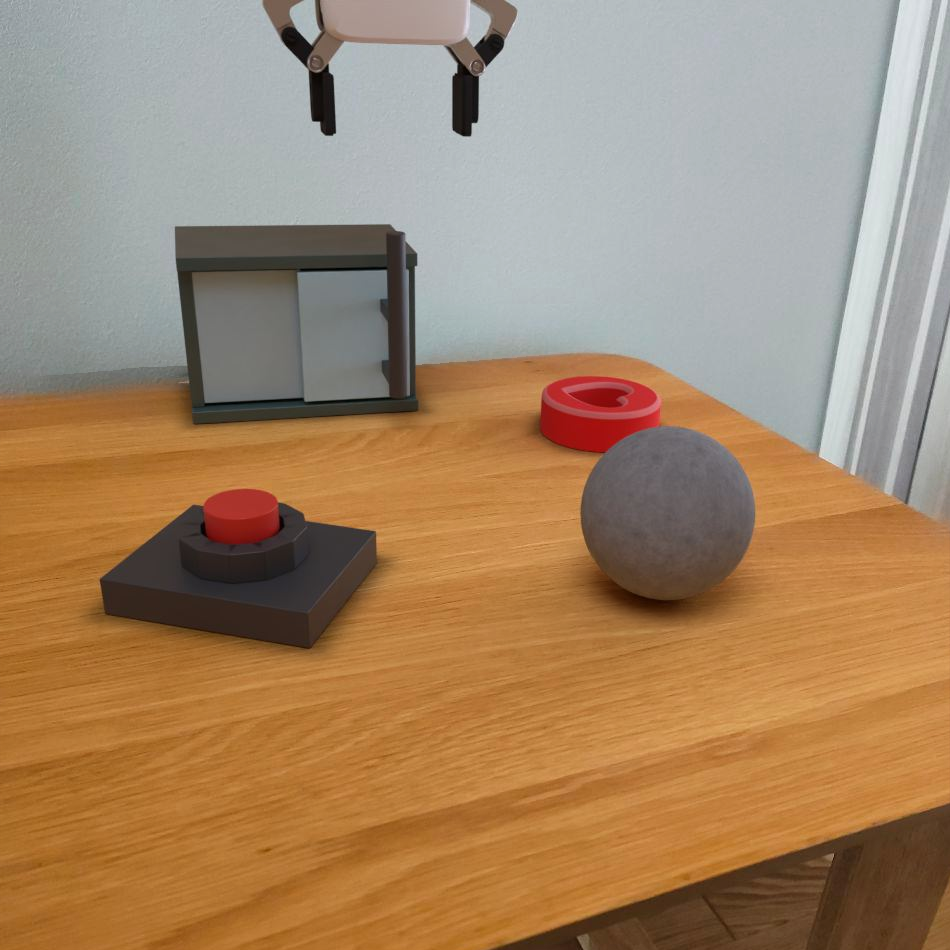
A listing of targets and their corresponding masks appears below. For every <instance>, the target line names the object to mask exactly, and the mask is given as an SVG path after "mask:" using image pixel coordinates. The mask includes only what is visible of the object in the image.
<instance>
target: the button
mask: <svg viewBox="0 0 950 950" xmlns="http://www.w3.org/2000/svg"><path fill="white" fill-rule="evenodd" d="M278 502H279V501H278V498H277V497H276V496H275V495H274V494H272V493H270V492H268V491H267V490H262V489H257V488H256V489H255V488H237V489H229V490H225V491H221V492H218V493H216V494H213V495H211V496H210V497H208V498H207V499H206V500H205V501H204V503H203V505H202V506H203V509H204V518H205V528H206V535H207V537H208V539H210V540H212V541H213V542H219V543H226V544H233V545H235V544H246V543H256V542H259V541H262V540H265V539H268V538H270V537H273V536H276V535H277V534H278V533H279V530H280V525H279V511H278Z"/></svg>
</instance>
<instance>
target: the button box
mask: <svg viewBox="0 0 950 950" xmlns="http://www.w3.org/2000/svg"><path fill="white" fill-rule="evenodd" d="M278 511H279V525H280V530H279V533H278V534H277V535H276V536H273V537H270V538H268V539H265V540H262V541H259V542H256V543H246V544H235V545H233V544H226V543H219V542H213V541H212V540H210V539H208V537H207V535H206V528H205V518H204V509H203V505H200V504H192V505H191V506H189V507H188V508H187V509H186V510H185V511H183V512H182V513H181V514H179V515H178V516H176V518H174V519H173V520H172V521H171V522H169V523H168V524H167V525H165V526H164V527H163V528H161V529H160V530H159V531H158V532H157V533H156V534H153V536H152V537H150V538H149V539H148V540H146V541H145V542H144V543H143V544H141V545H140V546H139V547H138V548H136V549H135V550H134V551H133V552H132V553H130V554H129V555H128V556H126V557H125V558H124V559H123V560H122V561H120V562H119V563H118V564H116V565H115V566H113V568H111V569H110V570H109V571H108V572H106V573H105V574H104V575H102V576H101V577H100V578H99V584H100V585H99V586H100V591H101V598H102V604H103V609H104V610H103V611H104V614H105V615H109V616H117V617H123V618H127V619H128V618H130V619H135V620H141V621H146V622H152V623H158V624H163V625H164V624H165V625H171V626H174V627H175V626H176V627H181V628H188V629H195V630H198V631H199V630H200V631H206V632H211V633H218V634H223V635H229V636H235V637H239V638H240V637H241V638H246V639H247V638H248V639H254V640H259V641H264V642H265V641H266V642H271V643H276V644H283V645H289V646H294V647H300V648H307V649H311V648H312V646H313V645H314V644H315V642H316V641H318V639H319V637H320V636H321V635H322V633H323V632H324V631H325V630H326V629H327V627H328V626H329V624H330V623H331V622H332V621H333V619H335V617H336V615H337V614H339V612H340V611H341V609H342V608H343V607H344V606H345V604H347V602H348V601H349V599H350V598H351V597H352V595H353V594H354V593H355V591H357V589H358V588H359V587H360V586H361V584H362V583H363V581H364V580H365V579H366V578H367V576H368V575H369V574H370V573H371V571H372V570H373V568H375V566H376V565H377V564H378V552H377V551H378V549H377V548H378V547H377V531H376V530H370V529H363V528H357V527H351V526H343V525H336V524H329V523H322V522H316V521H309V520H306V518H305V514H304V513H303V512H302V511H300V510H298V509H296V508H294V507H293V506H291V505H288V504H287V503H284V502H279V501H278Z"/></svg>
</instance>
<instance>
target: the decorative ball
mask: <svg viewBox="0 0 950 950" xmlns="http://www.w3.org/2000/svg"><path fill="white" fill-rule="evenodd" d="M580 500H581V502H580V507H579V508H580V510H579V511H580V513H579V514H580V527H581V532H582V536H583V539H584V542H585V545H586V547H587V548H586V549H588V552H589V554H590V556H591V557H592V559H593V560H594V562H595V563H596V565H597V566H598V567H599V569H600V570H601V571H602V572H603V574H605V575H606V576H607V578H609V579H610V580H611V581H612V582H613V583H614V584H617V585H618V586H619V587H621V588H622V589H624V590H626V591H628V592H630V593H632V594H635V595H637V596H640V597H644V598H647V599H651V600H658V601H678V600H683V599H689V598H692V597H696V596H699V595H701V594H703V593H706V592H707V591H709V590H711V589H714V588H715V587H717V585H719V584H721V583H722V582H723V581H724V580H726V579H727V578H728V577H729V576H730V575H731V574H732V573H733V572H734V571H735V570H736V568H737V567H738V566H739V565H740V564H741V562H742V561H743V558H744V557H745V555H746V554H747V551H748V549H749V547H750V544H751V541H752V539H753V535H754V529H755V524H756V502H755V501H756V500H755V495H754V490H753V487H752V484H751V481H750V480H749V477H748V475H747V472H746V471H745V469H744V467H743V466H742V465H741V463H740V462H739V460H738V458H736V457H735V455H734V454H733V453H732V452H731V451H730V450H729V449H728V448H727V447H726V446H724V445H723V444H722V443H720V442H719V441H717V440H715V439H714V438H713V437H711V436H709V435H707V434H705V433H703V432H700V431H698V430H695V429H692V428H687V427H683V426H676V425H674V426H673V425H662V426H659V427H653V428H648V429H644V430H641V431H638V432H635V433H633V434H631V435H629V436H627V437H625V438H623V439H622V440H620V441H619V442H617V443H616V444H615V445H613V446H612V447H611V448H610V449H609V450H608V451H606V452H603V454H602V455H601V457H599V459H598V461H597V462H596V463H595V465H593V468H592V470H590V473H589V474H588V477H587V479H586V481H585V484H584V487H583V490H582V494H581V499H580Z"/></svg>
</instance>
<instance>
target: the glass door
mask: <svg viewBox="0 0 950 950" xmlns="http://www.w3.org/2000/svg"><path fill="white" fill-rule="evenodd" d="M406 238H407V237H406V232H405V231H401V230H400V231H399V230H396V231H389V232H387V233H386V253H387V269H367V270H322V271H297V289H298V306H299V324H300V341H301V359H302V376H303V394H304V401H305V402H309V401H327V400H344V399H362V398H380V397H392V398H396V399H401V398H405V397H407V396H409V395H410V375H409V271H408V269H406V242H407V241H406V240H407V239H406Z"/></svg>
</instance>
